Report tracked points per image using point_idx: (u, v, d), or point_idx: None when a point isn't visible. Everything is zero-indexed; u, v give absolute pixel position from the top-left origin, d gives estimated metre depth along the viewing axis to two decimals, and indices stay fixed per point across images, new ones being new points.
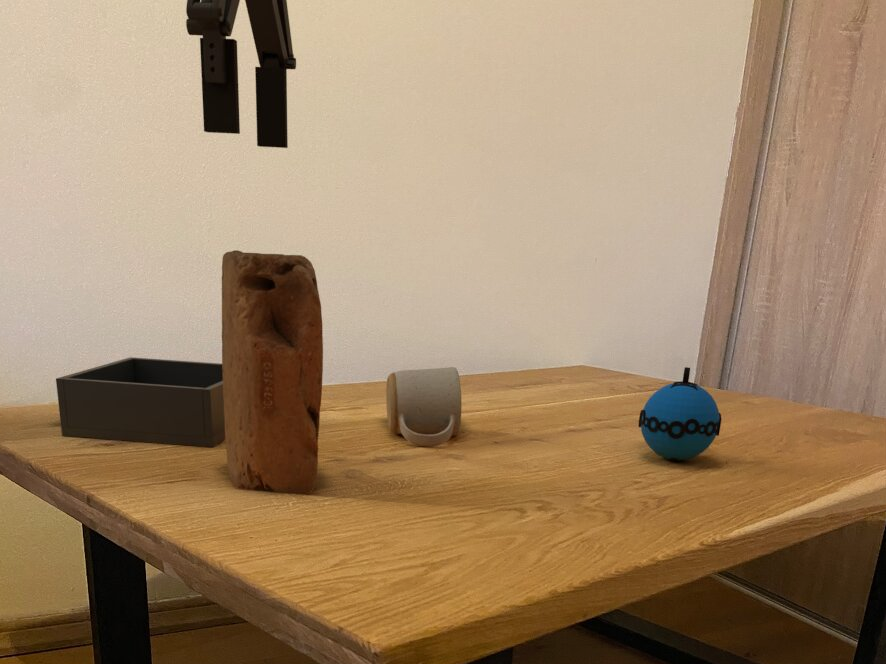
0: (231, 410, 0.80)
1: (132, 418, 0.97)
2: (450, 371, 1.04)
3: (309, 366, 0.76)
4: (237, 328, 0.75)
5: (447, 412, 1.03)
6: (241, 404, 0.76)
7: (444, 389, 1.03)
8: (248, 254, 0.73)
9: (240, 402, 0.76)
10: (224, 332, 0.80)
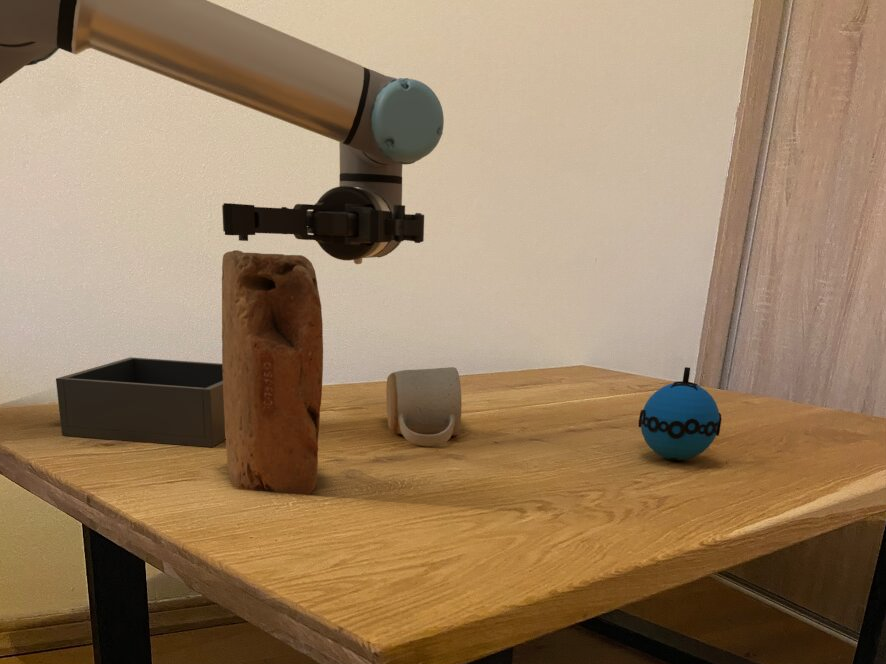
0: (231, 410, 0.80)
1: (132, 418, 0.97)
2: (450, 371, 1.04)
3: (309, 366, 0.76)
4: (237, 328, 0.75)
5: (447, 412, 1.03)
6: (241, 404, 0.76)
7: (444, 389, 1.03)
8: (248, 254, 0.73)
9: (240, 402, 0.76)
10: (224, 332, 0.80)
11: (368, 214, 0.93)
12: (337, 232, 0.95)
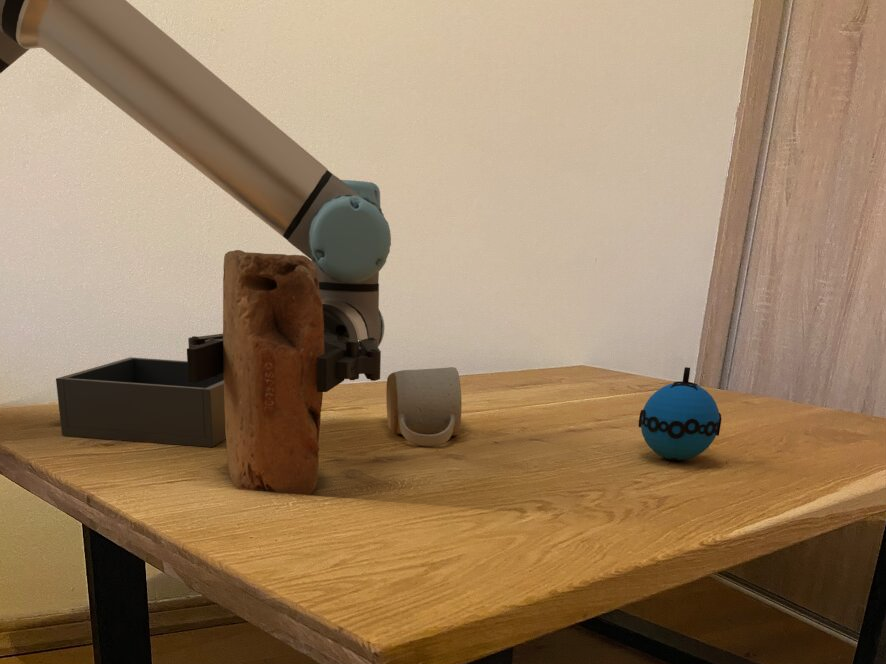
0: (232, 410, 0.80)
1: (132, 418, 0.97)
2: (450, 371, 1.04)
3: (310, 367, 0.76)
4: (239, 328, 0.75)
5: (447, 412, 1.03)
6: (242, 404, 0.76)
7: (444, 389, 1.03)
8: (250, 254, 0.73)
9: (241, 402, 0.76)
10: (225, 332, 0.80)
11: (329, 345, 0.85)
12: None
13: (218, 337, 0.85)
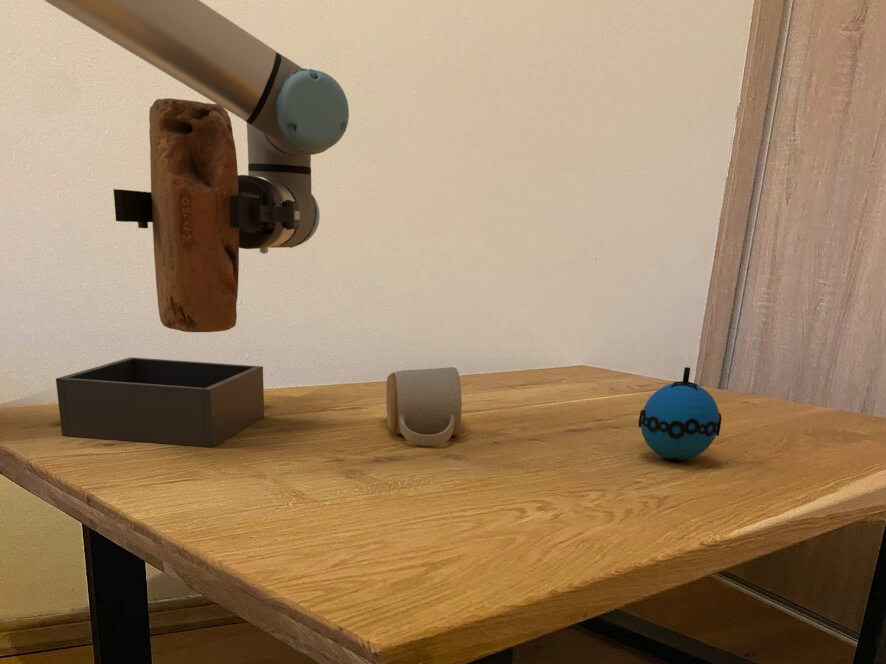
0: (158, 252, 0.88)
1: (132, 418, 0.97)
2: (450, 371, 1.04)
3: (225, 205, 0.84)
4: (159, 168, 0.83)
5: (447, 412, 1.03)
6: (164, 239, 0.85)
7: (444, 389, 1.03)
8: (168, 99, 0.82)
9: (163, 238, 0.85)
10: (152, 181, 0.88)
11: None
12: None
13: None
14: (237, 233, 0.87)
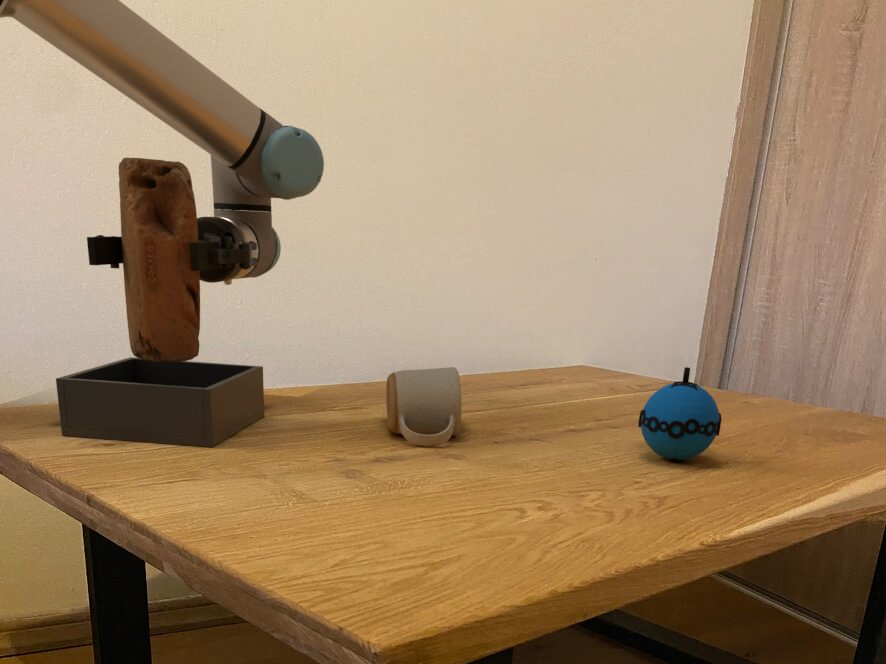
0: (127, 290, 0.99)
1: (132, 418, 0.97)
2: (450, 371, 1.04)
3: (186, 251, 0.95)
4: (127, 219, 0.94)
5: (447, 412, 1.03)
6: (132, 281, 0.95)
7: (444, 389, 1.03)
8: (134, 158, 0.92)
9: (131, 280, 0.96)
10: (122, 227, 0.99)
11: None
12: None
13: None
14: (197, 274, 0.97)
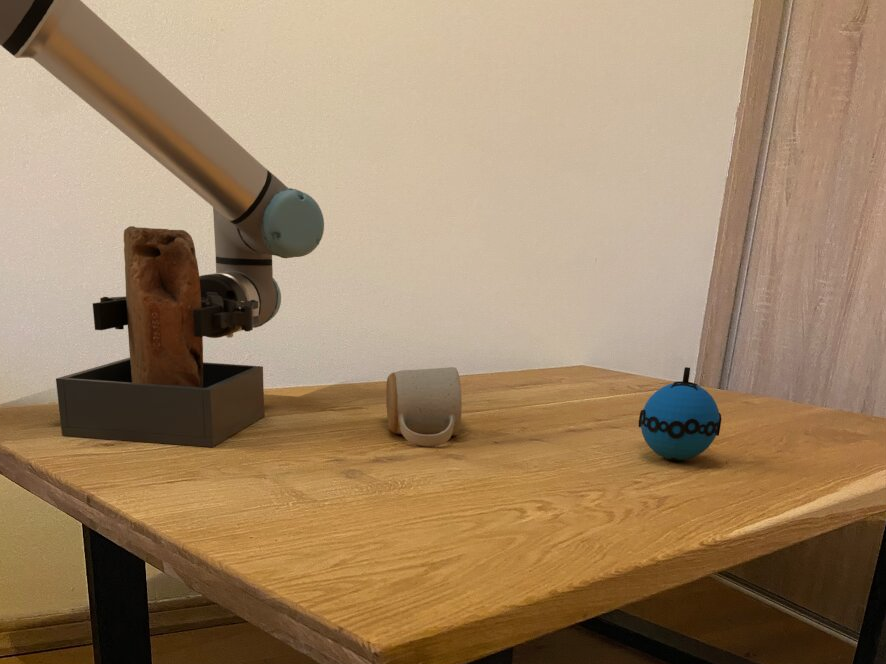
0: (132, 353, 1.01)
1: (132, 418, 0.97)
2: (450, 371, 1.04)
3: (189, 316, 0.98)
4: (132, 286, 0.96)
5: (447, 412, 1.03)
6: (137, 346, 0.98)
7: (444, 389, 1.03)
8: (139, 228, 0.95)
9: (136, 344, 0.98)
10: (127, 291, 1.01)
11: (214, 304, 1.07)
12: None
13: None
14: (201, 338, 1.00)
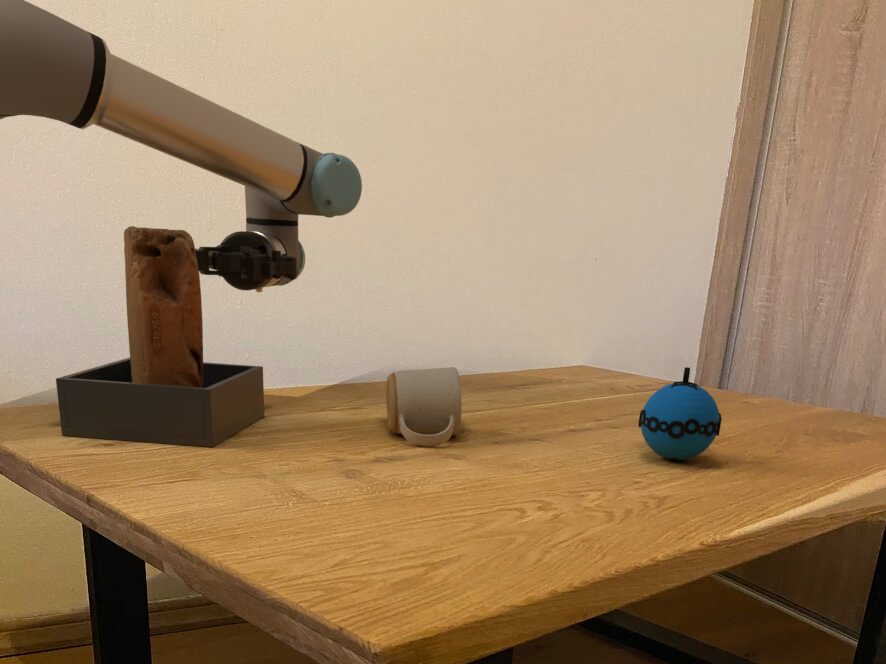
0: (132, 353, 1.01)
1: (132, 418, 0.97)
2: (450, 371, 1.04)
3: (189, 316, 0.98)
4: (132, 286, 0.96)
5: (447, 412, 1.03)
6: (137, 346, 0.98)
7: (444, 389, 1.03)
8: (139, 228, 0.95)
9: (136, 344, 0.98)
10: (127, 291, 1.01)
11: (255, 256, 1.17)
12: (233, 269, 1.20)
13: None
14: (201, 338, 1.00)
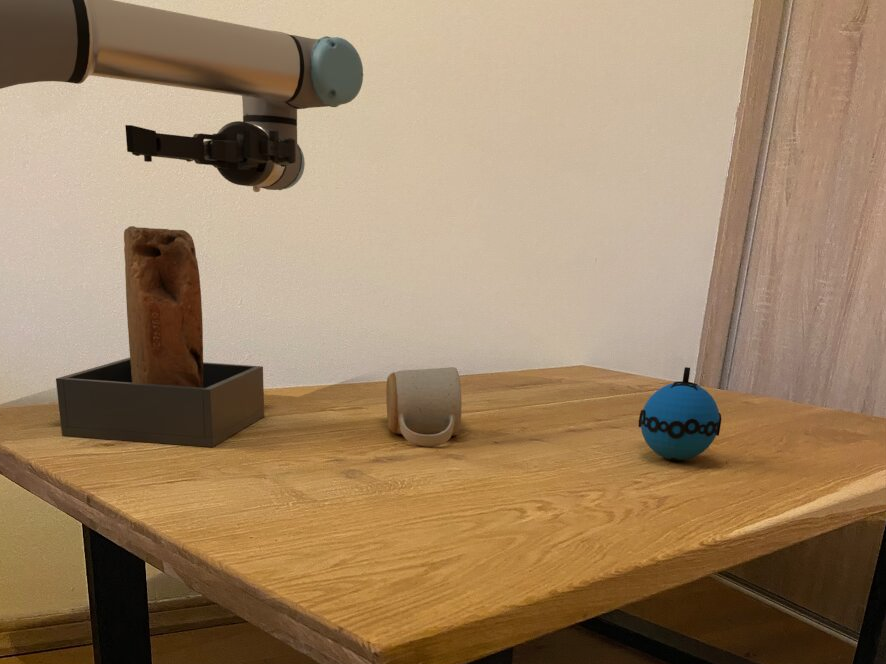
0: (132, 353, 1.01)
1: (132, 418, 0.97)
2: (450, 371, 1.04)
3: (189, 316, 0.98)
4: (132, 286, 0.96)
5: (447, 412, 1.03)
6: (137, 346, 0.98)
7: (444, 389, 1.03)
8: (139, 228, 0.95)
9: (136, 344, 0.98)
10: (127, 291, 1.01)
11: None
12: (229, 157, 1.15)
13: None
14: (201, 338, 1.00)
